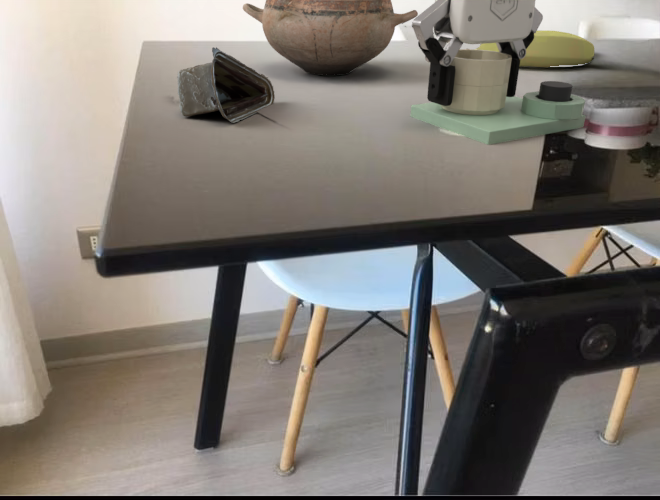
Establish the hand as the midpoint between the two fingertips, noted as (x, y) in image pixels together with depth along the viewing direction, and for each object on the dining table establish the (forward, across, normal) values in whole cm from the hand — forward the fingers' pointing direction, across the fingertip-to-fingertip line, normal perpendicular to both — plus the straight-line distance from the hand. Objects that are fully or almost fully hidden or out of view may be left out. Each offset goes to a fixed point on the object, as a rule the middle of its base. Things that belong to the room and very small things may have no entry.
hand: (471, 98), depth 68 cm
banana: (+3, +34, +23) cm, 41 cm away
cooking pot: (+3, +1, +31) cm, 31 cm away
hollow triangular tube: (+3, -22, +16) cm, 27 cm away
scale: (+2, +2, -2) cm, 4 cm away
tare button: (0, +7, -6) cm, 9 cm away
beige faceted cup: (+1, 0, 0) cm, 1 cm away
